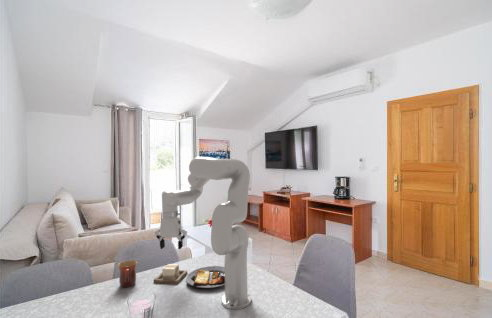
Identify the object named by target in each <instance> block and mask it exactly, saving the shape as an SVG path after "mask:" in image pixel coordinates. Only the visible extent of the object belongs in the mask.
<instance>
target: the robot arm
mask: <svg viewBox="0 0 492 318" xmlns="http://www.w3.org/2000/svg"><path fill="white" fill-rule="evenodd" d="M188 169H189V171H188V172H190V174H189V175H188V176H187V181H188V183H189V185H190V187H189V188H187V189H186V188H185V189H180V190H179V189H178V190H173V189H172V190H163V191H162V193H161V207H162V209H161V212H162V213H161V214H162V217H161V220H160V226H159V227H160V229H158V230H156V231H154V235H155V236H156V238H157V239H158V242H159V247H160V248H159V249H160V250H162V249H165V248H166V247H165V246H166V244H165V243H166V242H165V241H166V240H165V239H167V238H173V239H174V238H176V239H177V240H178V241H177V247H178V250H181V249H183V245H184V243H183V241H184V239H185V238H186V236H187V234H188V231H187V230H185V229H183V227H182V223H181V217H180V215H181V213H180V212H179V210H178V208H179V206H180V207H181V206H184V205H185V206H186V205H190V204H192V203H194V202H195V201H196V200H198V199H199V198H200V196H201V195H202V193H203V189H204V186H205V185H206V184H207V183H208V182H209V181H210V180H215V181H221V180H229V179H231V182H230V184H229V186H228V191H227V199H226V200H227V201H226V202H222V203H220V204H218V205H217V206H216V207H215V208H214V209H213V212H212V217H211V231H210V245H211V248H212V251H213V252H214V254H216V255H218V256H224V265H223V267H225V285H224V294H223V296H222V297H221V299H220V300H221V304H222V305H223V306H224V308H226V309H227V310H228V309H231V310H239V309H241V310H242V309H244V308H246V307H248V306H249V305H251V303H252V296H251V294H249V292H248V248H249V239H250V238H249V232H248V230H247V228H246V227H245V226H244V225H241V223H243V222H244V221H245V220H246V219H247V217H248V203H249V202H248V201H249V189H250V183H251V182H250V181H251V176H250V175H251V174H250V173H251V172H250V170H249V167H248V166H247V165H246V164H245V162H243V161H242V160H240V159H236V158H215V157H212V156H195V157H194V158H192V160H190V162H189V165H188Z"/></svg>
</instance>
